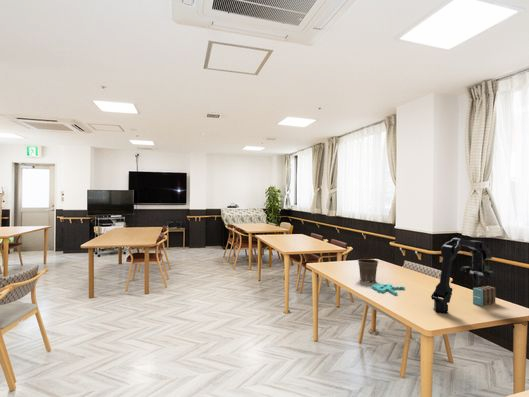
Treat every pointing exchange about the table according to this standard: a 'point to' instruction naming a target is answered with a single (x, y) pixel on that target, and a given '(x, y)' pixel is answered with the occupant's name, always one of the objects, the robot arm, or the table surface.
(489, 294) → the walnut domino
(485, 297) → the walnut domino
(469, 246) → the robot arm
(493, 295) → the walnut domino
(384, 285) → the alien figure
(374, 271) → the plant pot
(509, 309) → the table surface
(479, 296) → the teal domino
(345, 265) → the table surface
